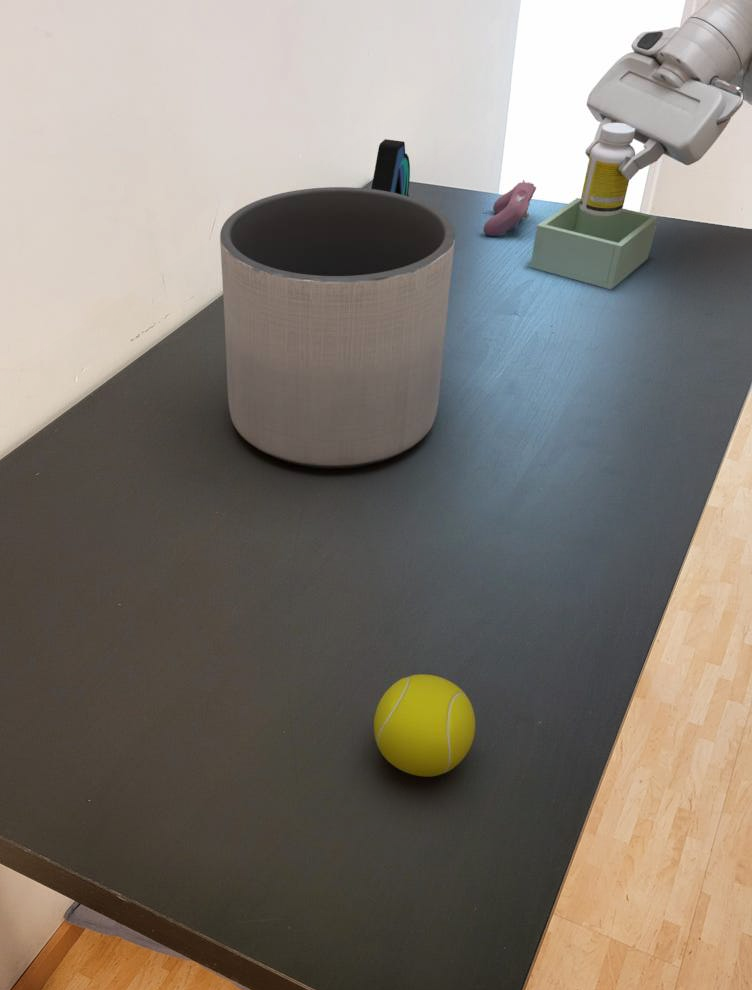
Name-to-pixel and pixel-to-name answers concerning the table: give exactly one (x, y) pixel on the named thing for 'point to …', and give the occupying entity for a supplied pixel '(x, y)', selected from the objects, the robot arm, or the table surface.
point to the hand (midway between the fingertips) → (605, 166)
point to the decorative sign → (392, 168)
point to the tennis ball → (424, 725)
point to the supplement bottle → (607, 171)
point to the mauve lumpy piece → (510, 209)
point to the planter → (335, 323)
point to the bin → (593, 244)
